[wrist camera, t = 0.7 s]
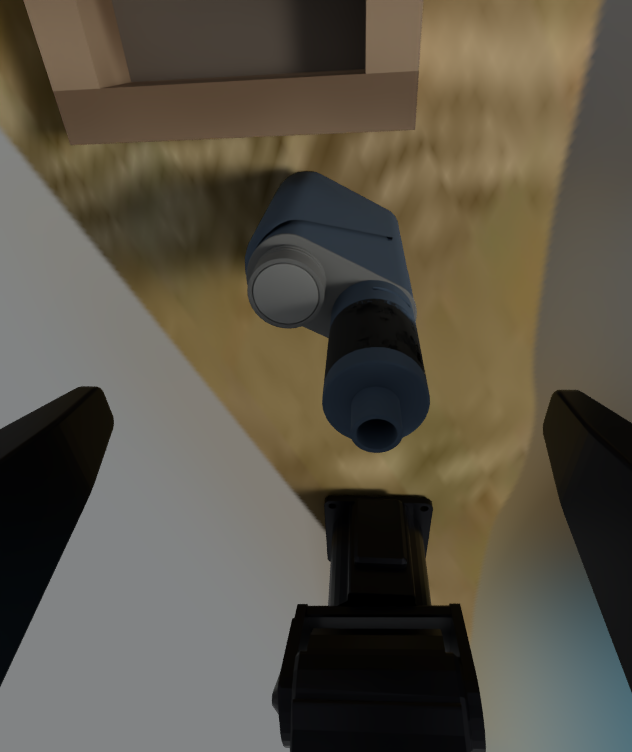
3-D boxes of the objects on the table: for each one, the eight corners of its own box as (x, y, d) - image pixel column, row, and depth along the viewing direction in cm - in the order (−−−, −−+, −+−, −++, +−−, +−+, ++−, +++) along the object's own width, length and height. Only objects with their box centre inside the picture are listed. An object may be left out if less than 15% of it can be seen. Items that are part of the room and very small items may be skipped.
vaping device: (379, 272, 20) (395, 492, 10) (266, 215, 19) (170, 401, 9) (412, 218, 19) (467, 416, 9) (292, 154, 18) (210, 299, 8)
